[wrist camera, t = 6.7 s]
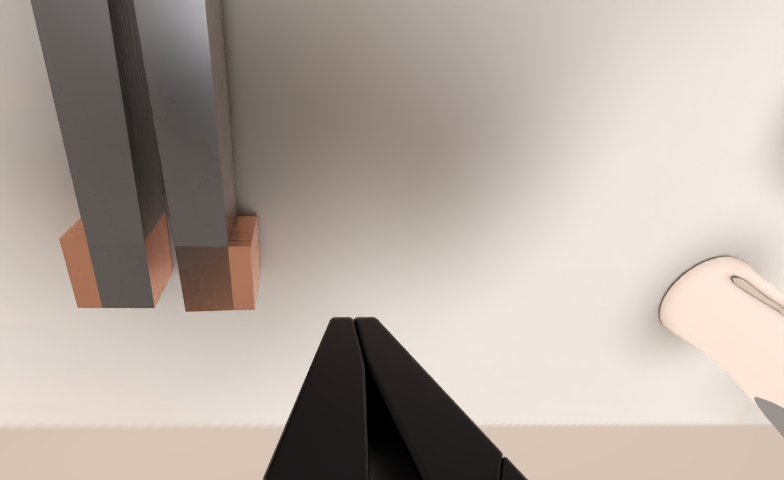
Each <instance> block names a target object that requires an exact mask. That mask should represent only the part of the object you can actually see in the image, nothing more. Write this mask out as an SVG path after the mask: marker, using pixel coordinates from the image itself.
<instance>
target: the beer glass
mask: <svg viewBox="0 0 784 480" xmlns="http://www.w3.org/2000/svg"><path fill="white" fill-rule="evenodd" d="M660 320H661V322H662V324H663V325H664V327H665V328H666V329H668V330H669V331H670V332H672V333H673V334H675V335H676V336H678V337H680V338H681V339H683V340H685V341H686V342H688V343H690V344H691V345H693V346H695V347H696V348H698V349H699V350H701V351H702V352H704V353H705V354H706V355H707V356H709V357H710V358H711V359H713V360H714V361H715V362H716V363H717V364H718V365H719V366H720V367H722V368H723V369H724V370H725V371H726V372H727V373H728V374H729V375H730V376H731V377H732V379H733V380H734V381H735V382H736V383H737V384H738V385H739V386H740V387H741V389H742V390H743V391H744V392H745V393H746V394H747V395H748V397H749V398H750V399H751V400H752V401H753V402H754V404H755V405H756V406H757V407H758V408H759V409H760V411H761V412H762V413H763V414H764V415H765V416H766V417H767V419H768V420H769V421H770V422H771V423H772V424H773V426H774V427H775V428H776V429H777V430H778V431H779V432H780V434H781V435H782V436H783V437H784V293H782V292H781V291H779V290H778V289H777V288H775V287H774V286H773V285H771V284H770V283H769V282H767V281H766V280H765V279H764V278H763V277H761V276H760V275H759V274H758V273H757V272H756V271H754V270H753V269H752V268H751V267H750V266H748V265H747V264H746V263H744V262H743V261H741V260H739V259H737V258H734V257H718V258H714V259H710V260H707V261H705V262H703V263H701V264H699V265H697V266H695V267H693V268H692V269H690V270H689V271H687V272H686V273H685V274H684V275H682V276H681V277H680V278H679V279H678V280H677V281H676V282H675V283H674V284H673V285H672V287H671V288H670V289H669V290H668V292H667V293H666V295H665V297H664V299H663V301H662V304H661V307H660Z"/></svg>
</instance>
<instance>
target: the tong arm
mask: <svg viewBox="0 0 784 480" xmlns="http://www.w3.org/2000/svg"><path fill="white" fill-rule="evenodd" d="M134 6H135V12H136V18H137V24H138V30H139V36H140V42H141V48H142V54H143V60H144V66H145V72H146V78H147V84H148V90H149V96H150V102H151V108H152V113H153V119H154V125H155V131H156V137H157V143H158V149H159V155H160V161H161V167H162V173H163V179H164V185H165V191H166V197H167V203H168V209H169V215H170V221H171V227H172V233H173V239H174V244H175V250H176V256H177V262H178V268H179V274H180V280H181V286H182V292H183V298H184V304H185V310H186V312H188V311H220V310H251V309H255V304H256V297H257V291H258V284H259V278H260V261H259V241H258V222H257V216H238V215H237V202H236V189H235V177H234V164H233V151H232V138H231V125H230V112H229V99H228V86H227V73H226V60H225V47H224V34H223V21H222V8H221V0H134Z"/></svg>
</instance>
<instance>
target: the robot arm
mask: <svg viewBox="0 0 784 480" xmlns="http://www.w3.org/2000/svg"><path fill="white" fill-rule="evenodd" d="M502 456H503V454H502V452H501V451H500V450H499V449H498V448H497V447H496V446H495V444H494V443H493V442H491V440H490V439H489V438H488V437H487V436H486V435H485V434H484V433H483V432H482V431H481V430H480V428H479V427H478V426H477V425H476V424H475V423H474V422H473V421H472V420H471V419H470V418H469V417H468V416H467V415H466V413H465V412H464V411H463V410H462V409H461V408H460V407H459V406H458V405H457V404H456V403H455V402H454V401H453V400H452V398H451V397H450V396H449V395H448V394H447V393H446V392H445V391H444V390H443V389H442V388H441V387H440V386H439V385H438V384H437V382H436V381H435V380H434V379H433V378H432V377H431V376H430V375H429V374H428V373H427V372H426V371H425V370H424V369H423V367H422V366H421V365H420V364H419V363H418V362H417V361H416V360H415V359H414V358H413V357H412V356H411V355H410V354H409V352H408V351H407V350H406V349H405V348H404V347H403V346H402V345H401V344H400V343H399V342H398V341H397V340H396V339H395V338H394V336H393V335H392V334H391V333H390V332H389V331H388V330H387V329H386V328H385V327H384V326H383V325H382V324H381V323H380V321H379V320H378V319H376V318H375V317H356V318H355V319H354V320H353V319H352V318H351V317H333V318H331V320H330V321H329V324H328V326H327V329H326V331H325V333H324V336H323V338H322V340H321V343H320V345H319V347H318V350H317V352H316V354H315V357H314V359H313V362H312V364H311V366H310V369H309V371H308V373H307V376H306V378H305V380H304V383H303V385H302V387H301V390H300V392H299V395H298V397H297V399H296V402H295V404H294V406H293V409H292V411H291V413H290V416H289V418H288V420H287V423H286V425H285V428H284V430H283V432H282V435H281V437H280V440H279V442H278V444H277V446H276V449H275V451H274V453H273V456H272V458H271V461H270V463H269V465H268V468H267V470H266V472H265V475H264V478H263V480H527V478H526V477H525V476H524V475H523V474H522V473H521V472H520V471H519V470H518V469H517V468H516V467H515V466H514V465H513V464H512V462H511V461H510V460H509V459H508V458H507V457H503V458H502Z"/></svg>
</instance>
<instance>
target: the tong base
mask: <svg viewBox="0 0 784 480" xmlns="http://www.w3.org/2000/svg"><path fill="white" fill-rule="evenodd" d="M31 4H32V8H33V12H34V17H35V21H36V25H37V29H38V34H39V38H40V42H41V47H42V51H43V55H44V60H45V64H46V68H47V72H48V77H49V81H50V85H51V90H52V94H53V98H54V103H55V107H56V111H57V115H58V120H59V124H60V128H61V133H62V137H63V141H64V146H65V150H66V154H67V158H68V163H69V167H70V171H71V176H72V180H73V184H74V189H75V193H76V197H77V201H78V206H79V210H80V214H81V219H80V220H79V221H78V222H77V223H76V224H74V225H73V226H72V227H71V228H70V229H69V230H68V231H67V232H66V233H65V234H64V235H63V236H62V237H61V238H60V243H61V247H62V250H63V254H64V258H65V261H66V265H67V269H68V273H69V276H70V280H71V284H72V287H73V291H74V295H75V299H76V302H77V306H78V308H155V306H156V304H157V302H158V300H159V298H160V296H161V294H162V292H163V290H164V288H165V286H166V284H167V282H168V280H169V278H170V276H171V274H172V272H173V269H172V261H171V252H170V244H169V236H168V228H167V219H166V211H165V203H164V194H163V186H162V178H161V170H160V161H159V153H158V145H157V137H156V131H155V125H154V119H153V113H152V108H151V102H150V96H149V90H148V84H147V78H146V72H145V66H144V60H143V54H142V48H141V42H140V36H139V30H138V24H137V18H136V12H135V6H134V0H31Z"/></svg>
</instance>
